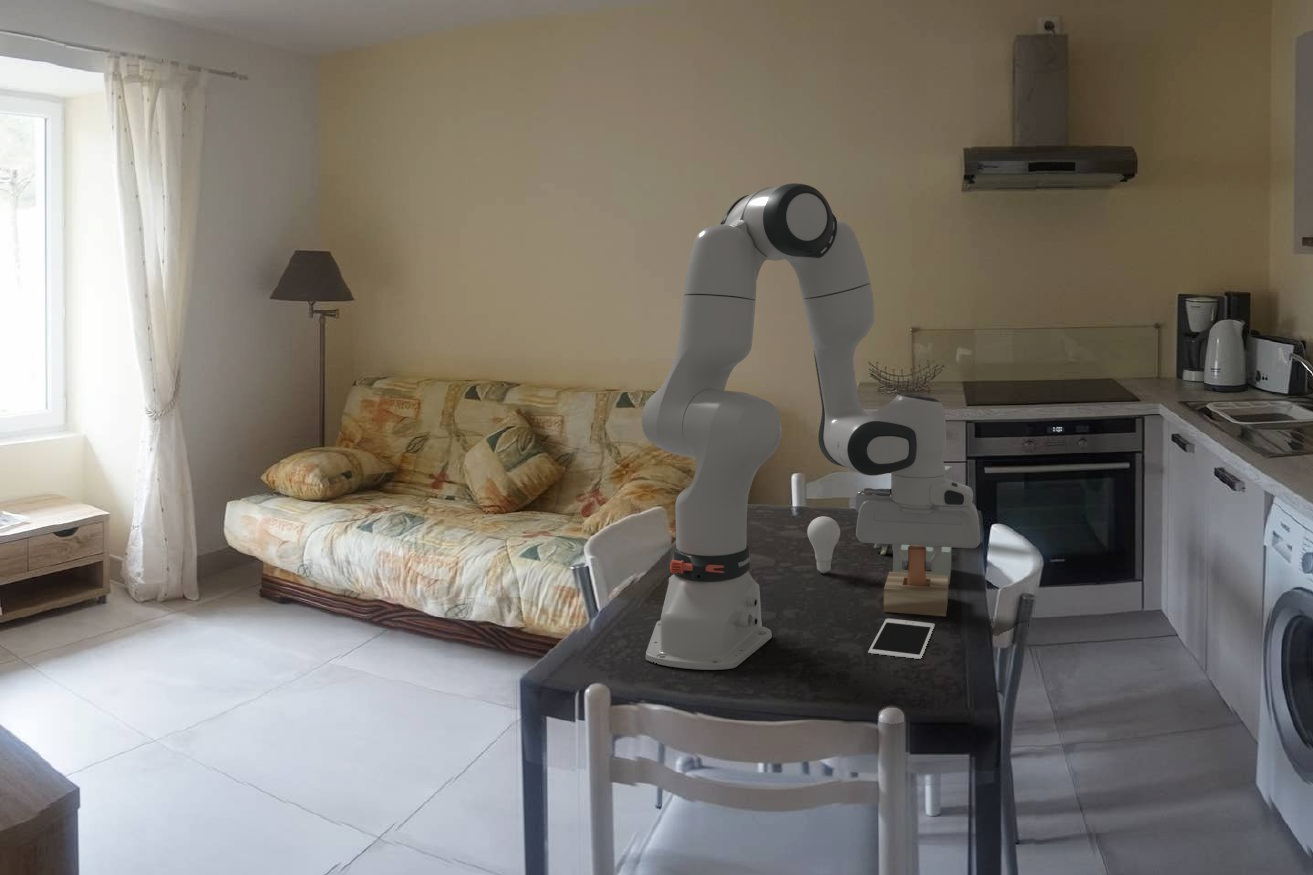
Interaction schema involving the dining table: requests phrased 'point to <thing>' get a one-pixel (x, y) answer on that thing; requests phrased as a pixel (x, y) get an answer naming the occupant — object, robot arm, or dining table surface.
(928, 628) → the cell phone
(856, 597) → the dining table surface
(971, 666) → the dining table surface
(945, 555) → the socket
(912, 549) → the pin
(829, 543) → the lightbulb
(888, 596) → the mount
